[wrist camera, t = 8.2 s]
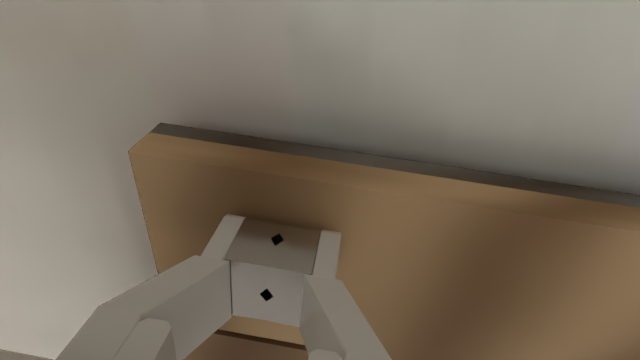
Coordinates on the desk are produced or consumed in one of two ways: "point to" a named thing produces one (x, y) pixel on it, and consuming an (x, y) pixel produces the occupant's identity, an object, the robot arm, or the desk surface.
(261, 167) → the plank
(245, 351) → the laid board
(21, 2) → the desk surface
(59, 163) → the desk surface
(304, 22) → the desk surface
